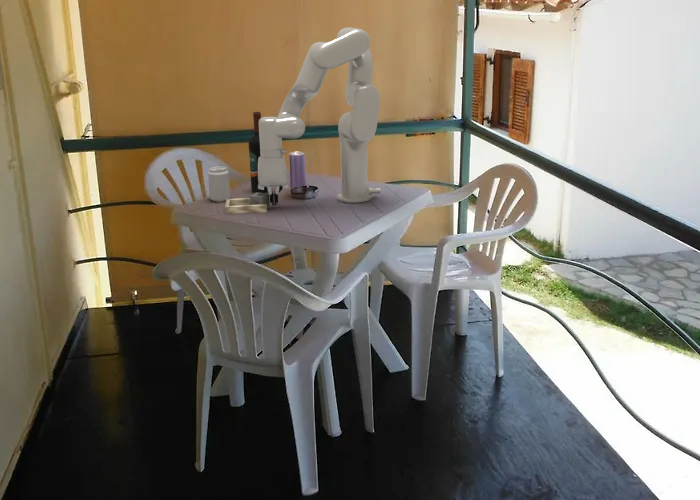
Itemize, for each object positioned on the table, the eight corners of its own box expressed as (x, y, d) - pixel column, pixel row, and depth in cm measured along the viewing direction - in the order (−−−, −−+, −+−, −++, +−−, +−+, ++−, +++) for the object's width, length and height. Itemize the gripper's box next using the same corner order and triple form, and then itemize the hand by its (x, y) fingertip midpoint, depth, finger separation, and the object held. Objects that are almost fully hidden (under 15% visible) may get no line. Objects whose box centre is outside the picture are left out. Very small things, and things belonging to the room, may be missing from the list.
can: (216, 203, 263) (214, 171, 259) (206, 199, 269) (203, 167, 265) (234, 199, 268) (232, 167, 264) (224, 195, 273) (221, 164, 269)
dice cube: (269, 207, 258) (268, 193, 256) (263, 210, 253) (262, 197, 252) (257, 206, 259) (256, 192, 258) (250, 209, 255) (249, 196, 253)
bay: (266, 204, 262) (266, 197, 261) (267, 212, 252) (266, 205, 251) (227, 205, 260) (226, 199, 259) (225, 214, 251) (225, 207, 250)
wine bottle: (268, 193, 275) (264, 114, 265) (249, 193, 276) (244, 113, 266) (273, 188, 282) (269, 110, 272) (254, 188, 283) (249, 110, 273)
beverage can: (303, 194, 274) (302, 155, 268) (288, 193, 275) (286, 154, 270) (307, 190, 279) (306, 151, 274) (292, 189, 280) (291, 151, 275)
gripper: (292, 150, 255) (294, 200, 261) (249, 152, 253) (253, 202, 259) (293, 154, 248) (295, 206, 254) (249, 156, 246) (252, 208, 252)
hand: (274, 204), depth 257 cm, fingers closed
